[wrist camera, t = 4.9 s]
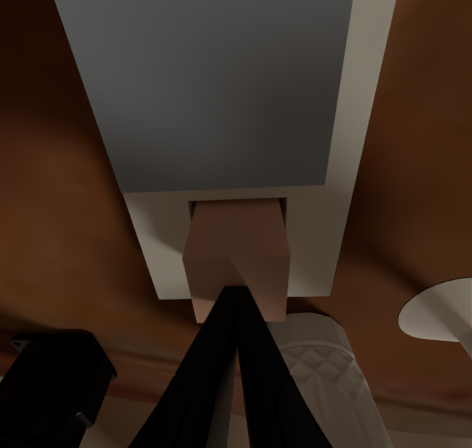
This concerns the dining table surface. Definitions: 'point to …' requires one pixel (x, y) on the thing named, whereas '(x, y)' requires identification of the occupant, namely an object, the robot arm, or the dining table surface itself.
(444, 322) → the champagne flute
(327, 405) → the white cup
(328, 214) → the button board
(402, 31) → the dining table surface
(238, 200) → the terracotta button
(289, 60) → the grey rectangular block
